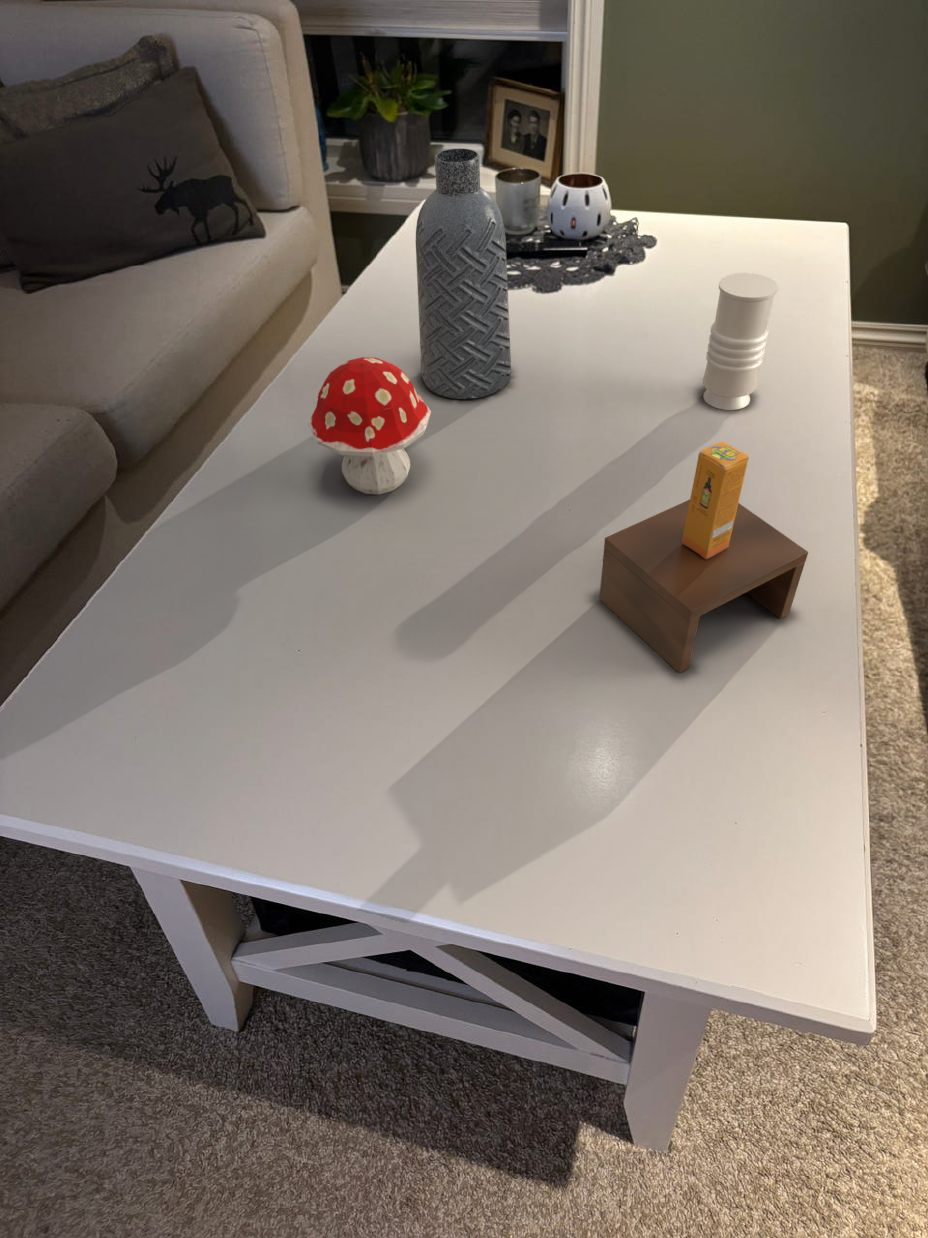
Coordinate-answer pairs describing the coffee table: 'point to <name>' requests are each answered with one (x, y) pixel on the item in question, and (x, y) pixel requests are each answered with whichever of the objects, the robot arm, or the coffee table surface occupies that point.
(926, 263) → the robot arm
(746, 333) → the white ribbed cylinder
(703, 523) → the supplement box
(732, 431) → the coffee table surface
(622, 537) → the shelf
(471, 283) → the vase
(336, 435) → the decorative mushroom
